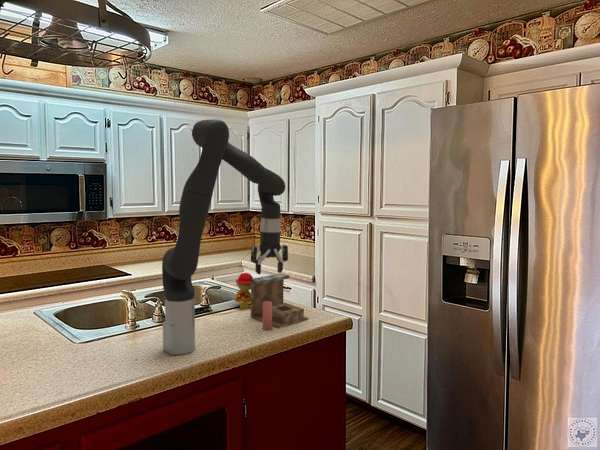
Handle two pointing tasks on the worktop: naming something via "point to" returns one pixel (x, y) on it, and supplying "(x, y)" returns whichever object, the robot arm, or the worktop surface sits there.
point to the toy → (244, 290)
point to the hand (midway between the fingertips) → (269, 273)
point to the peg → (267, 315)
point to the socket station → (273, 301)
